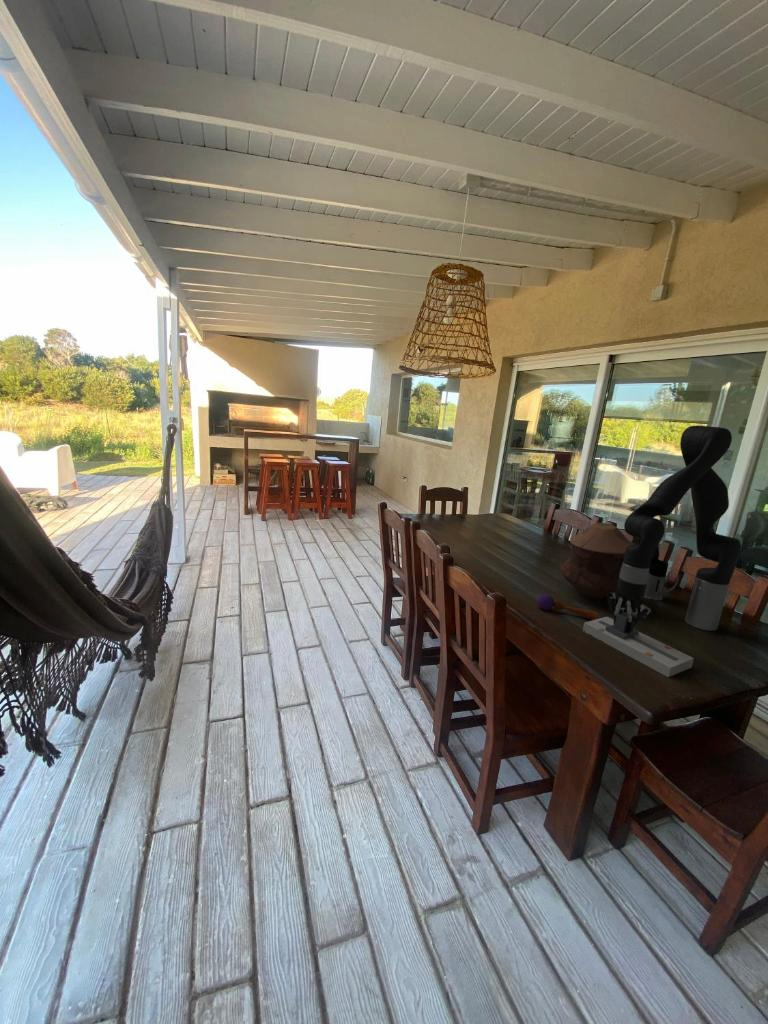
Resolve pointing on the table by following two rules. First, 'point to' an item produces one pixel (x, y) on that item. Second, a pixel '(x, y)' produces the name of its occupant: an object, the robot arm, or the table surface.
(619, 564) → the pottery vessel
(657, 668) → the slider console
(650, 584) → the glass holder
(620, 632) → the fader tab
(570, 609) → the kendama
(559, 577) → the table surface
